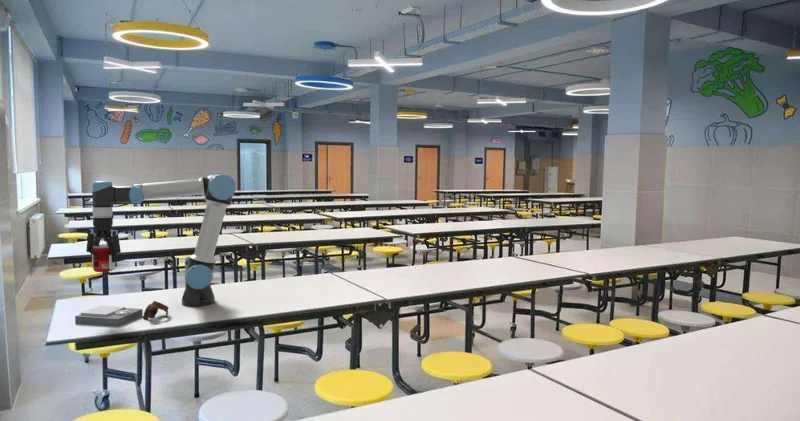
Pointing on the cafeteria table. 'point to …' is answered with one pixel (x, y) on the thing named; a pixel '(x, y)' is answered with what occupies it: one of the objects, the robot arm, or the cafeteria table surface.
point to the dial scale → (108, 315)
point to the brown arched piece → (154, 310)
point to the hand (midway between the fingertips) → (103, 268)
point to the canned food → (101, 258)
